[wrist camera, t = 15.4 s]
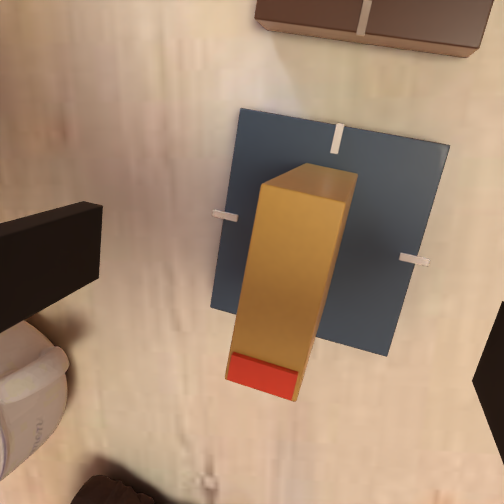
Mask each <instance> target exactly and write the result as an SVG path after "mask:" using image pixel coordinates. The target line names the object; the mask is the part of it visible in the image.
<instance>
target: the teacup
mask: <svg viewBox="0 0 504 504" xmlns="http://www.w3.org/2000/svg"><path fill="white" fill-rule="evenodd" d="M68 368H69V360H68V358H67V355H66V354H65V352H64V351H63V349H61V348H60V347H58V346H56V347H54V345H53V344H52V343H51V342H50V341H49V339H48V338H47V337H46V336H44V335H43V334H42V333H41V332H40V331H39V330H37V329H36V328H35V327H33V326H32V325H31V324H29V323H27V322H26V321H24V320H23V321H21V322H20V323H18V324H16V325H14V326H12V327H11V328H9V329H7V330H5V331H4V332H2V333H0V481H1V480H3V479H4V478H5V477H6V476H7V475H9V474H10V473H11V472H12V471H13V470H15V469H16V468H17V467H18V466H19V465H20V464H22V463H23V462H24V461H25V460H26V459H27V458H28V457H29V456H31V455H32V454H33V453H34V452H35V451H36V450H37V449H38V448H39V447H40V446H41V445H42V444H43V443H44V442H45V441H46V440H47V439H48V438H49V437H50V436H51V435H52V433H53V432H54V431H55V429H56V428H57V426H58V425H59V423H60V421H61V419H62V416H63V414H64V411H65V407H66V402H67V392H68V391H67V381H66V375H65V372H66V371H67V369H68Z"/></svg>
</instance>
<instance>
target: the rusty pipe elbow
mask: <svg viewBox="0 0 504 504" xmlns="http://www.w3.org/2000/svg"><path fill="white" fill-rule="evenodd" d="M70 504H154V501H153V499H152V498H151V497H149V496H148V495H146V494H144V493H139V494H137V493H136V492H134V490H133V488H132V487H131V486H125V485H123V484H122V481H121V480H119V481H115V480H112V479H110V478H108V477H107V476H103V475H97V476H92V477H91V478H90V479H89V480H88V481H87V482H86V483H85V484H84V485H83V486H82V488H81V489H80V490H79V492H78V493H77V494H76V496H75V497H74V498H73V500H72V502H71V503H70Z"/></svg>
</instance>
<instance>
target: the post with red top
mask: <svg viewBox="0 0 504 504" xmlns="http://www.w3.org/2000/svg"><path fill="white" fill-rule="evenodd" d="M357 178H358V174H356V173H351V172H347V171H342V170H337V169H333V168H328V167H323V166H319V165H314V164H309V163H305V164H303V165H301V166H299V167H297V168H295V169H292V170H290V171H288V172H286V173H284V174H282V175H280V176H277V177H275V178H273V179H271V180H269V181H267V182H265V183H262V185H261V188H260V193H259V199H258V204H257V209H256V214H255V220H254V225H253V230H252V236H251V241H250V246H249V252H248V257H247V262H246V267H245V273H244V278H243V283H242V289H241V294H240V299H239V304H238V310H237V315H236V320H235V326H234V331H233V336H232V342H231V347H230V352H229V357H228V363H227V368H226V373H225V379H226V380H229V381H232V382H235V383H238V384H241V385H245V386H248V387H251V388H254V389H257V390H260V391H263V392H266V393H269V394H272V395H275V396H278V397H281V398H284V399H288V400H291V401H294V402H295V401H296V400H297V397H298V394H299V390H300V387H301V384H302V380H303V377H304V374H305V370H306V367H307V363H308V360H309V357H310V353H311V350H312V347H313V343H314V340H315V337H316V333H317V330H318V326H319V323H320V320H321V316H322V313H323V310H324V306H325V303H326V299H327V295H328V291H329V287H330V283H331V279H332V275H333V271H334V268H335V264H336V260H337V256H338V252H339V248H340V244H341V240H342V236H343V232H344V229H345V225H346V221H347V217H348V213H349V209H350V205H351V201H352V197H353V193H354V189H355V186H356V182H357Z"/></svg>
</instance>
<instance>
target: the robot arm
mask: <svg viewBox="0 0 504 504" xmlns="http://www.w3.org/2000/svg"><path fill="white" fill-rule="evenodd" d="M102 213H103V206H102V205H98V204H93V203H89V202H85V201H82V202H79V203H75V204H71V205H68V206H64V207H60V208H56V209H53V210H49V211H45V212H41V213H38V214H34V215H30V216H27V217H23V218H19V219H15V220H12V221H8V222H4V223H0V333H2V332H4V331H5V330H7V329H9V328H11V327H12V326H14V325H16V324H18V323H20V322H21V321H23V320H25V319H27V318H28V317H30V316H32V315H34V314H36V313H37V312H39V311H41V310H43V309H44V308H46V307H48V306H50V305H52V304H53V303H55V302H57V301H59V300H60V299H62V298H64V297H66V296H68V295H69V294H71V293H73V292H75V291H77V290H78V289H80V288H82V287H84V286H85V285H87V284H89V283H91V282H93V281H94V280H96V279H98V278H99V265H100V247H101V230H102ZM472 382H473V385H474V387H475V390H476V393H477V395H478V398H479V401H480V403H481V406H482V408H483V411H484V414H485V416H486V419H487V422H488V424H489V427H490V430H491V432H492V435H493V437H494V440H495V443H496V445H497V448H498V451H499V453H500V456H501V458H502V461H503V464H504V301H502V303H501V306H500V309H499V311H498V314H497V317H496V319H495V322H494V324H493V327H492V330H491V332H490V335H489V338H488V340H487V343H486V345H485V348H484V351H483V353H482V356H481V359H480V361H479V364H478V366H477V369H476V372H475V374H474V377H473V380H472Z"/></svg>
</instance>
